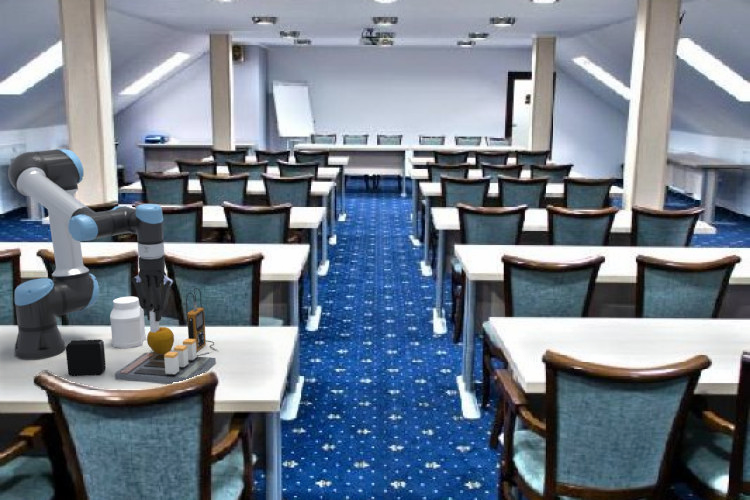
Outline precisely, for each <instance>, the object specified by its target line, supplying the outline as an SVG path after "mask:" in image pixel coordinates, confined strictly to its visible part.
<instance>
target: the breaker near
mask: <svg viewBox="0 0 750 500" xmlns="http://www.w3.org/2000/svg"><path fill="white" fill-rule="evenodd" d="M164 359H165V373H166V374H176V373H177V372H179V359H178V352H174V351H170V352H168V353H166V354H165V355H164Z"/></svg>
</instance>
